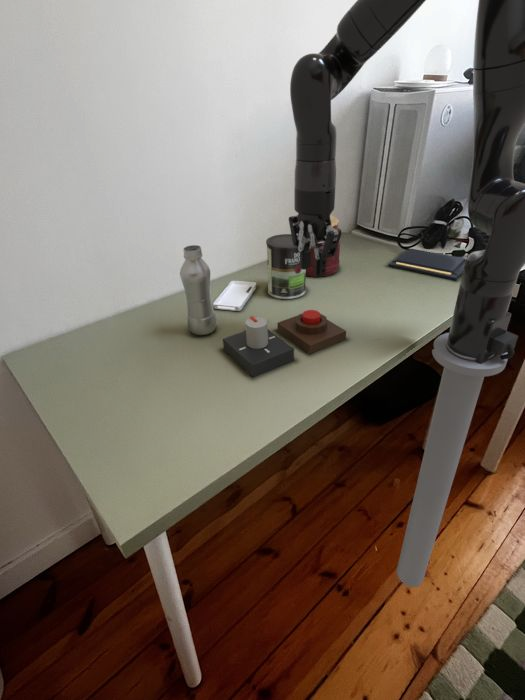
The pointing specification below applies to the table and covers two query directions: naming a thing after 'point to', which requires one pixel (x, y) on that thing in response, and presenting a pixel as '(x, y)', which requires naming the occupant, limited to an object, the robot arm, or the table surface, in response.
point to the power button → (311, 317)
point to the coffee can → (284, 268)
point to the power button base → (311, 333)
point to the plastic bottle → (197, 291)
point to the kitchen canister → (331, 262)
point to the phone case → (234, 296)
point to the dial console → (258, 353)
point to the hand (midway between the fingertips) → (312, 271)
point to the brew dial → (257, 332)
